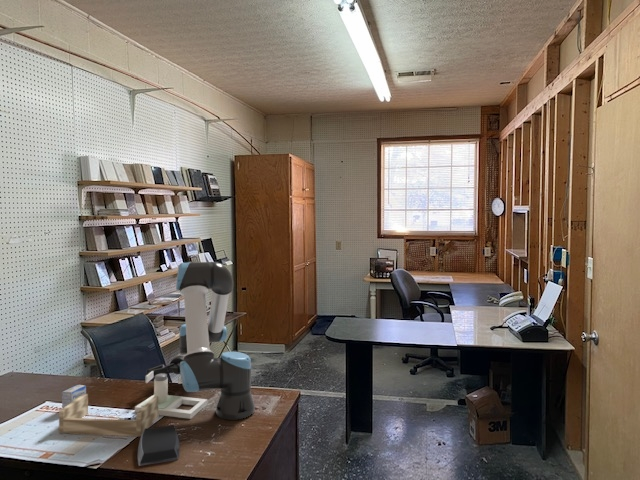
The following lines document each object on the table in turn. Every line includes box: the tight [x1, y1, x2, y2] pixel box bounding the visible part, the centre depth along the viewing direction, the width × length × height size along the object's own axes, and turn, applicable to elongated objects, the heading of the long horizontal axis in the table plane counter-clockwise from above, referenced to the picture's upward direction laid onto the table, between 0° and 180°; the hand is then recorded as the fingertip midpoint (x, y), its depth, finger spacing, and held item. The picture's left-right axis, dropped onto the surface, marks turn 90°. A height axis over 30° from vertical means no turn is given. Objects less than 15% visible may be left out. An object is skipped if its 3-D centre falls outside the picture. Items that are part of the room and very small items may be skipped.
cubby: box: [58, 393, 159, 437], centre depth 162 cm, size 16×29×8 cm, turn 88°
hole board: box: [134, 394, 209, 420], centre depth 177 cm, size 24×14×2 cm, turn 78°
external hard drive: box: [137, 424, 181, 467], centre depth 146 cm, size 13×19×4 cm
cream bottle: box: [153, 373, 169, 404], centre depth 178 cm, size 5×5×10 cm
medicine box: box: [61, 384, 87, 409], centre depth 174 cm, size 8×4×9 cm, turn 168°
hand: (162, 380), depth 181 cm, fingers open, 13 cm apart
